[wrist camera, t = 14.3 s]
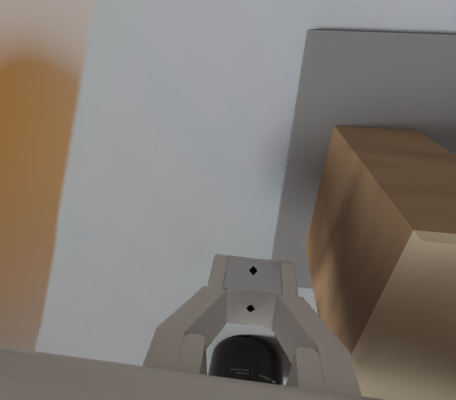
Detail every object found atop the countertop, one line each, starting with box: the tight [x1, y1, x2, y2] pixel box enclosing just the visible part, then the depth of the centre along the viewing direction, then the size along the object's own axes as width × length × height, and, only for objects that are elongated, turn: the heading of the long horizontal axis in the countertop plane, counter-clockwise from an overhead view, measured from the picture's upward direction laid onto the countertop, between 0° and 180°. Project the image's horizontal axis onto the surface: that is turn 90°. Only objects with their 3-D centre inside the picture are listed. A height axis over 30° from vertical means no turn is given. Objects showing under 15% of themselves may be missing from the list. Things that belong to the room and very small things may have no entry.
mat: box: [272, 30, 456, 289], centre depth 15 cm, size 16×16×1 cm
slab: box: [305, 125, 456, 400], centre depth 12 cm, size 8×4×9 cm, turn 178°
